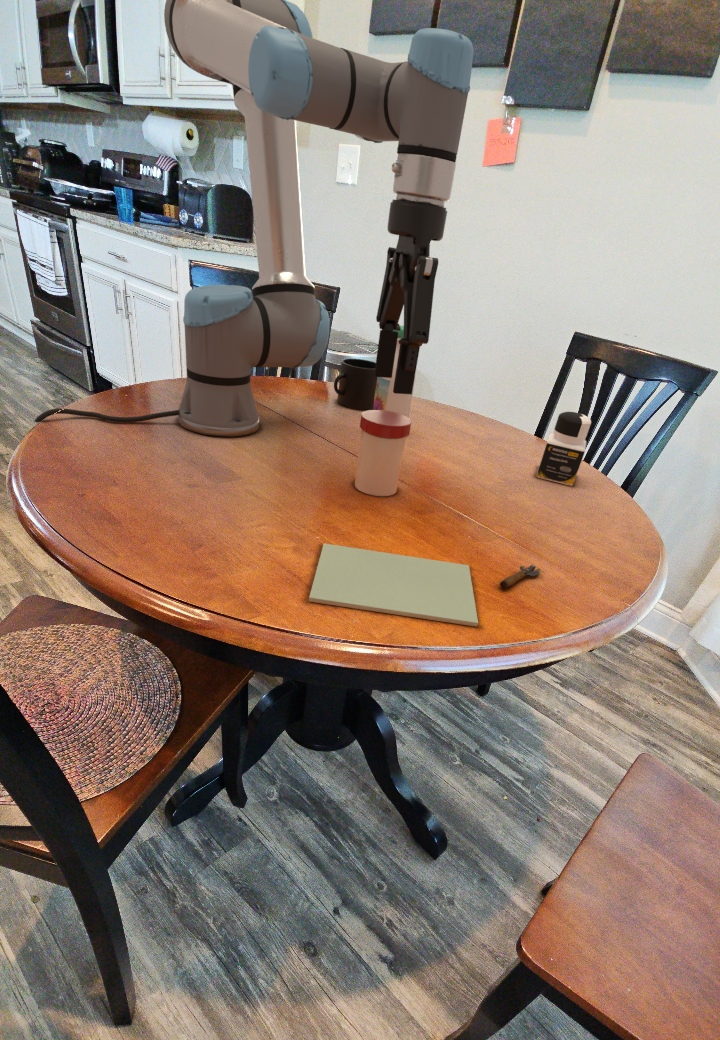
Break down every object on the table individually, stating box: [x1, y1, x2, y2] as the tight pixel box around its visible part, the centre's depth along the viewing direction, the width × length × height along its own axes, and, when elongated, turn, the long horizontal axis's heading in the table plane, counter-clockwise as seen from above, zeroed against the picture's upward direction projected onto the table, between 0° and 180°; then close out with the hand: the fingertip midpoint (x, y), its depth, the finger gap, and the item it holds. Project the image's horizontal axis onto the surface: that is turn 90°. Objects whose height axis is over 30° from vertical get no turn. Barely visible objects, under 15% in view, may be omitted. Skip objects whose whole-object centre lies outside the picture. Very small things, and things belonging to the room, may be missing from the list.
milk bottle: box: [372, 325, 416, 419], centre depth 120 cm, size 8×8×20 cm
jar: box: [354, 429, 407, 497], centre depth 96 cm, size 7×7×11 cm
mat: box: [308, 543, 479, 627], centre depth 74 cm, size 20×14×1 cm
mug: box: [333, 358, 378, 411], centre depth 136 cm, size 9×12×9 cm
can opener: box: [499, 563, 541, 589], centre depth 79 cm, size 9×2×1 cm, turn 131°
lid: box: [359, 409, 412, 438], centre depth 93 cm, size 8×8×2 cm
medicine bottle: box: [535, 411, 592, 487], centre depth 112 cm, size 7×7×12 cm
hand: (392, 384), depth 89 cm, fingers open, 9 cm apart
